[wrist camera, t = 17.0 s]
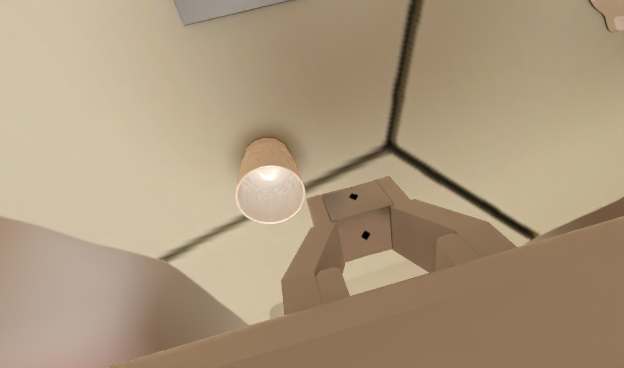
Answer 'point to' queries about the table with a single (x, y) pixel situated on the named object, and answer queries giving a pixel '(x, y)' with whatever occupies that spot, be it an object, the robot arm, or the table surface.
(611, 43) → the table surface
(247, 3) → the square flange plate
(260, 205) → the white cup
